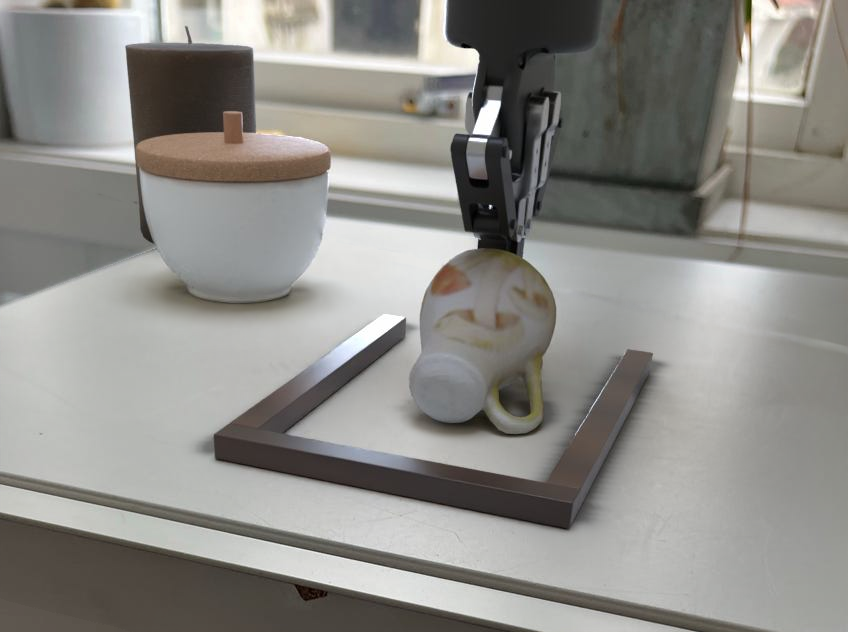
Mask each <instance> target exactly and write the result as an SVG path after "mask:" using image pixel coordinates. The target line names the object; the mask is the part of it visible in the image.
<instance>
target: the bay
mask: <svg viewBox="0 0 848 632" xmlns="http://www.w3.org/2000/svg"><path fill="white" fill-rule="evenodd" d="M406 330H407V316H401V315H392V314H386V313H384V314H382V315H381V316H379V317H378V318H376V319H375V320H374V321H372V322H371V323H369V324H368V325H366V326H365V327H363V328H361V330H359V331H357V332H356V333H355V334H354V335H351V337H349V338H348V339H346V340H345V341H343V342H342V343H341V344H339V345H338V346H337V347H334V349H333V350H331V351H330V352H327V354H325V355H324V356H322V357H321V358H319V359H318V360H317V361H315V362H314V363H312V364H311V365H309V366H308V367H307V368H305V369H304V370H303V371H301V372H300V373H298V374H297V375H296V376H294V377H292V378H291V379H289V380H288V381H287V382H286V383H284V384H283V385H281V386H279V387H278V388H277V389H276V390H274V391H273V392H271V393H270V394H268V395H267V396H265V397H264V398H263V399H261V400H260V401H259V402H257V403H256V404H255V405H253V406H251V407H250V408H249V409H247V410H246V411H245V412H243V413H242V414H240V415H238V417H236V418H234V419H233V420H231V421H229V423H228V424H226V425H225V426H223V427H222V428H221V429H219V430H218V431H216V432H215V433H214V434H213V448H214V449H213V450H214V458H215V459H216V460H221V461H225V462H226V461H227V462H231V463H235V464H236V463H237V464H241V465H246V466H252V467H256V468H261V469H265V470H266V469H267V470H272V471H277V472H281V473H286V474H291V475H296V476H301V477H307V478H312V479H317V480H322V481H326V482H330V483H331V482H332V483H336V484H341V485H346V486H351V487H357V488H361V489H366V490H371V491H377V492H382V493H387V494H392V495H395V496H396V495H397V496H402V497H407V498H412V499H416V500H423V501H426V502H432V503H437V504H442V505H447V506H451V507H458V508H461V509H467V510H471V511H472V510H473V511H476V512H483V513H487V514H492V515H498V516H502V517H508V518H512V519H517V520H523V521H527V522H532V523H538V524H543V525H547V526H552V527H557V528H561V529H566V530H567V529H568V530H569V529H570V528H571V526H572V525H573V522H574V521H575V519H576V517H577V514H578V513H579V511H580V509H581V507H582V505H583V503H584V502H585V499H586V497H587V496H588V493H589V491H590V489H591V487H592V485H593V483H594V481H595V480H596V477H597V476H598V475H599V472H600V470H601V468H602V466H603V464H604V463H605V460H606V458H607V457H608V455H609V453H610V450H611V449H612V447H613V445H614V443H615V441H616V439H617V437H618V435H619V433H620V431H621V429H622V427H623V425H624V424H625V421H626V419H627V417H628V415H629V414H630V412H631V409H632V408H633V406H634V404H635V402H636V400H637V398H638V395H639V394H640V392H641V390H642V388H643V386H644V385H645V382H646V380H647V378H648V376H649V375H650V373H651V367H652V363H653V356H654V353H653V352H651V351H644V350H638V349H631V348H628V349H626V350H625V352H624V354H623V356H622V357H621V358H620V360H619V362H618V364H617V365H616V367H615V369H614V370H613V372H612V374H611V375H610V376H609V379H608V380H607V381H606V383H605V385H604V386H603V388H602V390H601V392H600V393H599V395H598V397H597V398H596V400H595V401H594V403H593V405H592V406H591V408H590V410H589V411H588V413H587V414H586V416H585V418H583V421H582V422H581V424H580V426H579V427H578V430H577V431H576V432H575V434H574V435H573V438H572V439H571V441H570V442H569V444H568V445H567V448H566V449H565V451H564V452H563V454H562V456H561V457H560V459H559V460H558V462H557V463H556V465H555V467H554V469H553V470H552V471H551V474H550V475H549V477H548V478H547V480H546V482H545V481H538V480H533V479H529V478H522V477H517V476H513V475H512V476H511V475H507V474H501V473H495V472H490V471H484V470H479V469H474V468H469V467H464V466H459V465H454V464H448V463H443V462H437V461H432V460H427V459H420V458H416V457H411V456H405V455H400V454H394V453H388V452H383V451H378V450H372V449H368V448H367V449H366V448H361V447H357V446H351V445H346V444H341V443H335V442H331V441H324V440H319V439H314V438H308V437H304V436H298V435H292V434H288V433H285V432H286V431H288V430H289V429H290V428H291V427H293V426H294V425H295V424H297V423H298V422H299V421H300V420H301V419H303V418H304V417H305V416H306V415H308V414H309V413H310V412H311V411H312V410H313V411H314V409H315V408H316V407H318V406H319V405H320V404H321V403H323V402H324V401H326V400H327V399H328V398H329V397H330V396H332V395H333V394H334V393H336V392H337V391H338V390H339V389H341V388H342V387H343V386H344V385H346V384H347V383H348V382H349V381H351V380H352V379H353V378H354V377H356V376H357V375H358V374H359V373H361V372H362V371H364V370H365V369H366V368H367V367H369V366H370V365H371V364H372V363H374V362H375V361H376V360H377V359H379V358H380V357H381V356H382V355H384V353H386V352H387V351H389V350H390V349H392V348H393V347H394V346H395V345H396V344H398V343H399V342H400V341H401V340H402V339H404V338H405V337H406V332H407V331H406Z"/></svg>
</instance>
